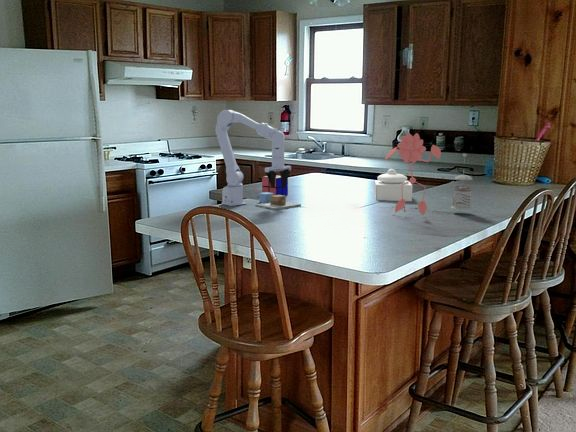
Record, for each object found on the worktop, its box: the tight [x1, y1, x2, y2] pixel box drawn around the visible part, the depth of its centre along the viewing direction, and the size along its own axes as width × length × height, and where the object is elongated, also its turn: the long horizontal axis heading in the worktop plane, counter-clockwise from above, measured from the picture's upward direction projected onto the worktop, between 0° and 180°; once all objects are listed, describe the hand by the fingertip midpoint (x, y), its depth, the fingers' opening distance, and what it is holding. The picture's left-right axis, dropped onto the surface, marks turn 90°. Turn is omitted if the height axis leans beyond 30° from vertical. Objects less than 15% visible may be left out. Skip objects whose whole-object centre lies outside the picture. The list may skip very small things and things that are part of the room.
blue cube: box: [258, 192, 274, 204], centre depth 280 cm, size 5×5×5 cm
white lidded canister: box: [373, 168, 413, 202], centre depth 290 cm, size 18×18×16 cm
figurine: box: [384, 132, 442, 219], centre depth 247 cm, size 15×26×35 cm, turn 54°
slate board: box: [255, 201, 302, 211], centre depth 271 cm, size 16×14×1 cm
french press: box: [447, 153, 474, 211], centre depth 265 cm, size 10×12×25 cm
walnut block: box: [271, 195, 287, 206], centre depth 271 cm, size 5×5×4 cm
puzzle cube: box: [261, 174, 289, 196], centre depth 306 cm, size 10×10×10 cm
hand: (278, 186), depth 270 cm, fingers open, 6 cm apart
